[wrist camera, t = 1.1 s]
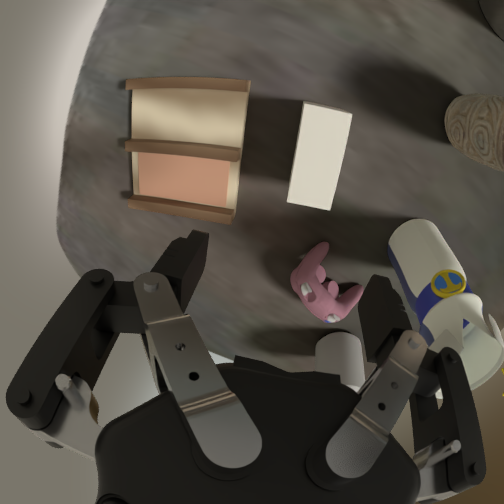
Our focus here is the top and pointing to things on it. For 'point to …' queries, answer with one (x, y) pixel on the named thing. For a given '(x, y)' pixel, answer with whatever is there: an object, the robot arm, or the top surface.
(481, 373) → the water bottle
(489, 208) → the top surface
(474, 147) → the carving
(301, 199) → the plug block
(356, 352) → the can
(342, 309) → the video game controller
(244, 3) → the top surface
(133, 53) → the top surface
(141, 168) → the slot rack
